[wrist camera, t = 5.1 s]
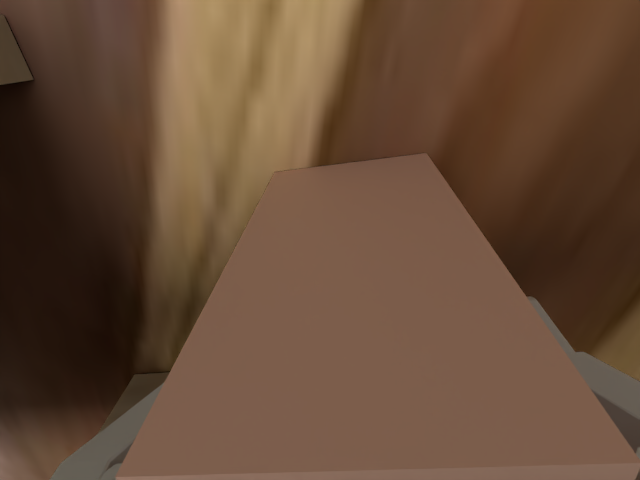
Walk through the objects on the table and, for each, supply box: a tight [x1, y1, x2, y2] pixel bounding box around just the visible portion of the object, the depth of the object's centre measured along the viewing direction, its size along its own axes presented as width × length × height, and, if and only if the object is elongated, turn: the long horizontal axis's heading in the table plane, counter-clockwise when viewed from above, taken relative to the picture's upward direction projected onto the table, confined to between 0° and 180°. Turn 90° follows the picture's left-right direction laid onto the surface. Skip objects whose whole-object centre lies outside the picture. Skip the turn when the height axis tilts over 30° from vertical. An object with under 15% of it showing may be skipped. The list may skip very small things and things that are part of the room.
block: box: [115, 153, 640, 480], centre depth 8 cm, size 4×6×8 cm, turn 8°
